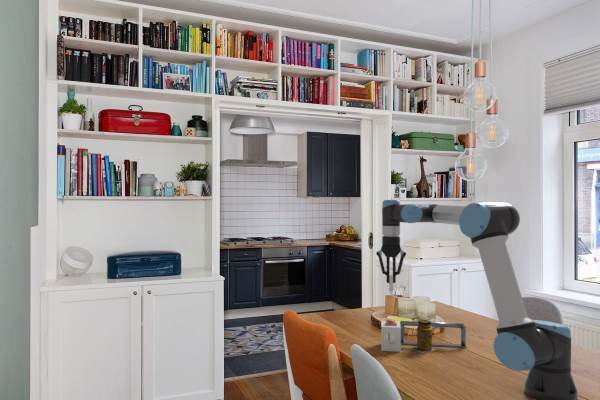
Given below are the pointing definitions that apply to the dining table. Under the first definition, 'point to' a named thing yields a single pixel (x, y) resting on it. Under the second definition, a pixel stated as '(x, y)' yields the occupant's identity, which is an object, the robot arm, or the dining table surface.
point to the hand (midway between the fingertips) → (391, 290)
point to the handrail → (436, 324)
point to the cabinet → (390, 337)
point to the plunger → (390, 322)
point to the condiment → (424, 337)
